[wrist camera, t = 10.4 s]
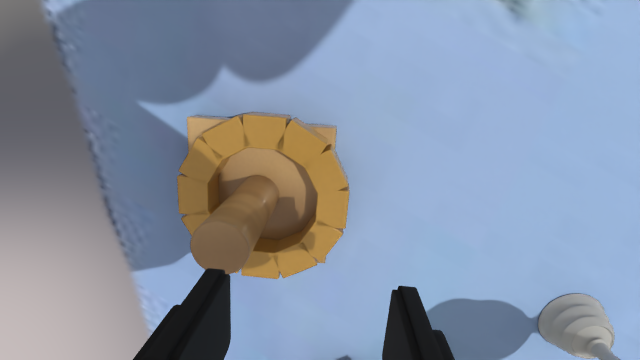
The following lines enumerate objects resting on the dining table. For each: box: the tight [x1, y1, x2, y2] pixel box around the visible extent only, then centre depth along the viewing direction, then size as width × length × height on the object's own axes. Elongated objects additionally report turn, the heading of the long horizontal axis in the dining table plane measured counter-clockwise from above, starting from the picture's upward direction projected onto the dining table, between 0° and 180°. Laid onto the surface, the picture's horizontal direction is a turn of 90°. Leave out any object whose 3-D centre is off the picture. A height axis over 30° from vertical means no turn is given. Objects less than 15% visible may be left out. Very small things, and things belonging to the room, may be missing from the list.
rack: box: [187, 115, 337, 274], centre depth 20 cm, size 10×10×10 cm
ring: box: [177, 112, 349, 279], centre depth 22 cm, size 11×11×2 cm
